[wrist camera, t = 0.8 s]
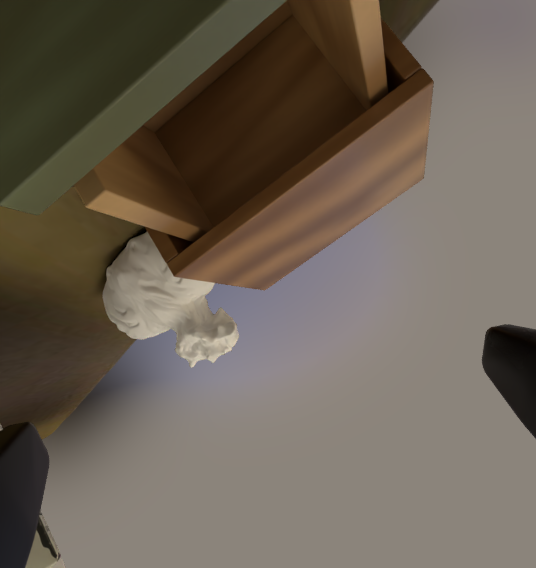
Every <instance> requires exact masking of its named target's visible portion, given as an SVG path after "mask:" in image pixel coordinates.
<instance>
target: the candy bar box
mask: <svg viewBox="0 0 536 568" xmlns="http://www.w3.org/2000/svg"><path fill="white" fill-rule="evenodd" d="M2 429H3V428H2V426H1V424H0V431H1V430H2ZM60 556H61V555H60V552H59V549H58V547H57V545H56V543H55V541H54V538H53V537H52V534H51V532H50V530H49V528H48V525H47V523H46V521H45V519H44V517H43V515H42V513H41V511H40V514H39V519H38V524H37V529H36V533H35V538H34V541H33V544H32V548H31V551H30V554H29V558H28V561H27V564H26V567H25V568H51V567H53V566H54V565H55V564H56V563H57V562H58V560H59V559H60Z"/></svg>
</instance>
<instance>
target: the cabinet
mask: <svg viewBox="0 0 536 568" xmlns="http://www.w3.org/2000/svg"><path fill="white" fill-rule="evenodd" d="M381 27H382V37H383V46H384V56H385V66H386V76H387V86H388V94H387V95H386V96H385V97H384V98H382V99H381V100H380V101H378V102H377V103H376V104H374V105H373V106H372V107H370V108H369V109H368V110H367V111H365V112H364V113H363V114H361V115H360V116H359V117H357V118H356V119H355V120H353V121H352V122H351V123H350V124H348V125H347V126H346V127H344V128H343V129H342V130H340V131H339V132H338V133H336V134H335V135H334V136H333V137H331V138H330V139H329V140H327V141H326V142H325V143H323V144H322V145H321V146H319V147H318V148H317V149H316V150H314V151H313V152H312V153H310V154H309V155H308V156H306V157H305V158H304V159H302V160H301V161H300V162H299V163H297V164H296V165H295V166H293V167H292V168H291V169H289V170H288V171H287V172H285V173H284V174H283V175H282V176H280V177H279V178H278V179H276V180H275V181H274V182H272V183H271V184H270V185H269V186H267V187H266V188H265V189H263V190H262V191H261V192H259V193H258V194H257V195H255V196H254V197H253V198H252V199H250V200H249V201H248V202H246V203H245V204H244V205H242V206H241V207H240V208H238V209H237V210H236V211H235V212H233V213H232V214H231V215H229V216H228V217H227V218H225V219H224V220H223V221H221V222H220V223H219V224H218V225H216V226H215V227H214V228H212V229H211V230H210V231H208V232H207V233H206V234H204V235H203V236H202V237H201V238H199V239H198V240H197V241H195V242H192V241H188V240H185V239H182V238H179V237H176V236H173V235H170V234H167V233H164V232H160V231H157V230H154V229H151V228H148V227H145V226H144V227H145V228H146V230H147V232H148V234H149V235H150V237H151V239H152V240H153V242H154V244H155V246H156V247H157V249H158V251H159V252H160V254H161V256H162V258H163V259H164V261H165V263H167V266H168V267H169V269H170V271H171V272H172V274H173V276H174V277H178V278H185V279H191V280H198V281H205V282H212V283H218V284H225V285H232V286H239V287H246V288H252V289H260V290H266V289H267V288H269V287H270V286H272V285H273V284H275V283H276V282H277V281H279V280H280V279H282V278H283V277H284V276H286V275H287V274H289V273H290V272H292V271H293V270H294V269H296V268H297V267H299V266H300V265H301V264H303V263H304V262H306V261H307V260H309V259H310V258H311V257H313V256H314V255H316V254H317V253H319V252H320V251H321V250H323V249H324V248H326V247H327V246H329V245H330V244H331V243H333V242H334V241H336V240H337V239H338V238H340V237H341V236H343V235H344V234H346V233H347V232H348V231H350V230H351V229H352V228H354V227H355V226H357V225H358V224H360V223H361V222H363V221H364V220H365V219H367V218H368V217H370V216H371V215H373V214H374V213H375V212H377V211H378V210H380V209H381V208H382V207H384V206H385V205H387V204H388V203H390V202H391V201H392V200H394V199H395V198H397V197H398V196H399V195H401V194H402V193H404V192H405V191H407V190H408V189H409V188H411V187H412V186H413V185H415V184H417V183H418V182H419V181H421V180H422V179H423V178H424V172H425V162H426V152H427V143H428V133H429V122H430V113H431V104H432V94H433V84H434V82H433V80H432V78H431V77H430V76H429V75H428V74H427V72H426V71H425V70H424V69H421V65H420V64H419V63H418V62H417V61H416V59H415V58H414V57H413V56H412V54H411V53H410V52H409V51H408V50H407V48H405V46H404V45H403V44H402V42H401V41H400V40H399V39H398V38H397V36H396V35H395V34H394V33H393V31H392V30H391V29H390V28H389V27H388V25H387V24H386V23H385V22H384V21H383V19H382V18H381Z"/></svg>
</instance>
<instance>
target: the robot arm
mask: <svg viewBox="0 0 536 568" xmlns="http://www.w3.org/2000/svg"><path fill="white" fill-rule="evenodd" d="M482 364H483V368H484V370H485V373H486V374H487V376H488V377H489V378H490V380H491V381H492V382H493V383H494V385H495V387H496V388H497V389H498V391H499V392H500V393H501V395H502V396H503V397H504V399H505V400H506V402H507V403H508V404H509V406H510V407H511V408H512V410H513V411H514V412H515V414H516V415H517V417H518V418H519V419H520V420H521V422H522V423H523V424H524V425H525V427H526V428H527V429H528V430H529V431H530V433H532V435H533V436H534V437H535V438H536V330H535V329H530V328H525V327H520V326H514V325H506V324H505V325H500V326H495V327H491V328H489V329H488V330H487V332H486V335H485V342H484V349H483V356H482ZM48 469H49V455H48V452H47V449H46V447H45V445H44V443H43V441H42V439H41V437H40V435H39V433H38V431H37V429H36V427H35V426H34V425H33V424H32V423H30V422H24V423H19V424H14V425H10V426H7V427H5V428H4V429H2V430H1V431H0V568H25V567H26V564H27V561H28V558H29V554H30V551H31V548H32V544H33V541H34V538H35V533H36V529H37V524H38V519H39V514H40V509H41V504H42V499H43V494H44V489H45V484H46V479H47V474H48Z"/></svg>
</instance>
